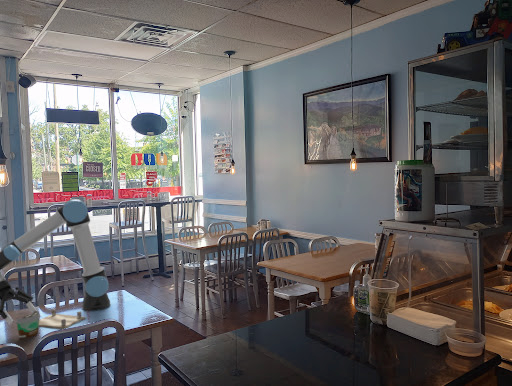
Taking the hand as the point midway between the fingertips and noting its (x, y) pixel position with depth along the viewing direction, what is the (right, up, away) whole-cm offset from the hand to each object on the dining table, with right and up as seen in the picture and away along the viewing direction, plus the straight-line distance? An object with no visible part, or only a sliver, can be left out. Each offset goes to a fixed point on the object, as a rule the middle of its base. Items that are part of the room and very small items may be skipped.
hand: (24, 317), depth 194 cm
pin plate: (+8, -7, +17) cm, 20 cm away
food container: (+4, -9, 0) cm, 10 cm away
